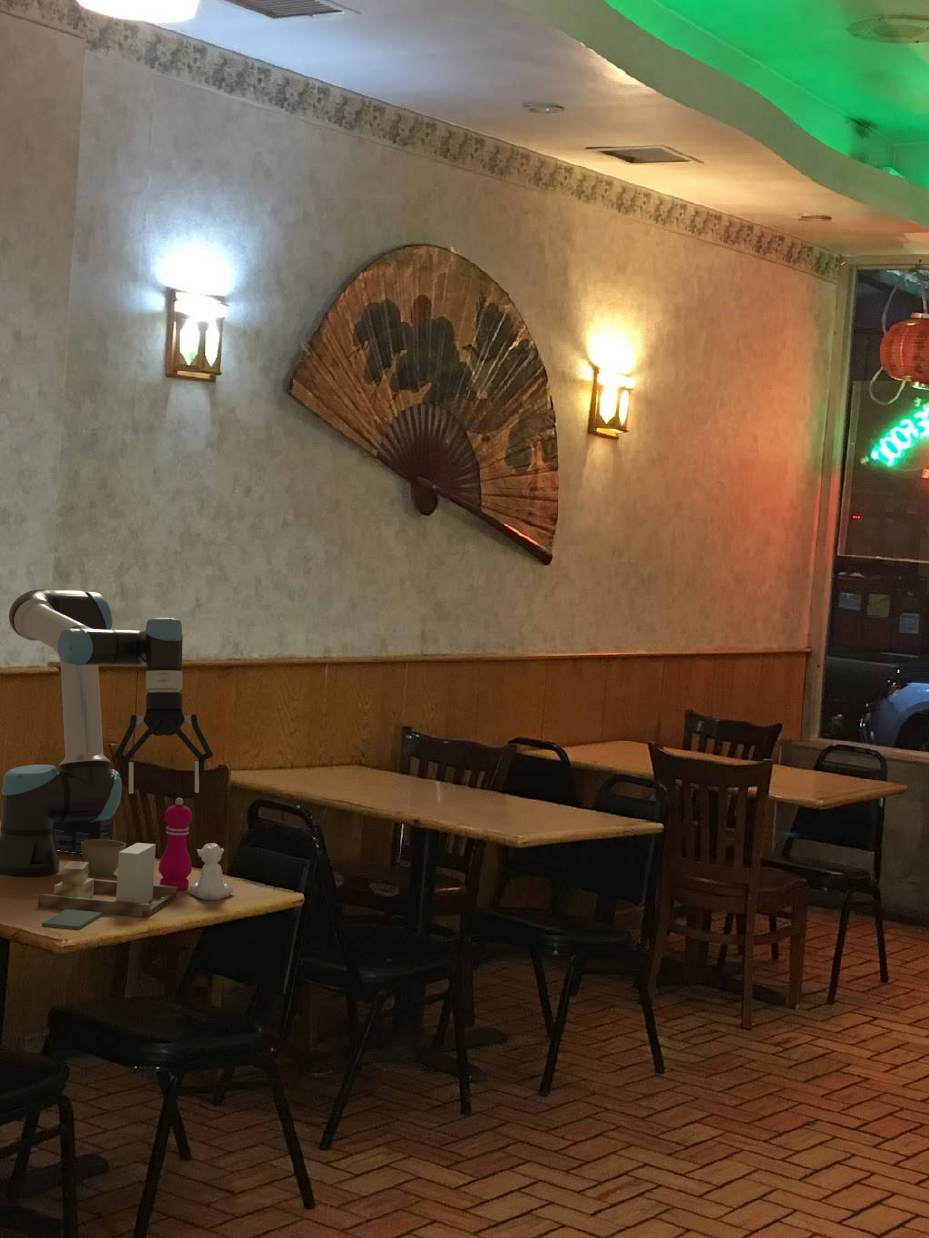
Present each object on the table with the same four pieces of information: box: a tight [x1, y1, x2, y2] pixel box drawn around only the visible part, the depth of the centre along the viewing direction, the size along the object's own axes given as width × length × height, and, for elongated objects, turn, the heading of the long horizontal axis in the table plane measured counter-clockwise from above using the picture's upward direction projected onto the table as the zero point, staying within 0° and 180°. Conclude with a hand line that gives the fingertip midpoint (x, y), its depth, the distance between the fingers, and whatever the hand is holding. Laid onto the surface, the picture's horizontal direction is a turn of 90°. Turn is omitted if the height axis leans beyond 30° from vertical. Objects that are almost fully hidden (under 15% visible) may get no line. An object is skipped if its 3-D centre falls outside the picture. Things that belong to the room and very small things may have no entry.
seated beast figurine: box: [189, 842, 234, 901], centre depth 358 cm, size 10×9×12 cm
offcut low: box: [53, 877, 95, 898], centre depth 347 cm, size 5×10×4 cm, turn 173°
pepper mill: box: [158, 797, 193, 891], centre depth 365 cm, size 7×7×20 cm
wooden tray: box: [37, 878, 178, 918], centre depth 346 cm, size 23×20×2 cm
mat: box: [41, 909, 104, 930], centre depth 328 cm, size 8×14×1 cm, turn 173°
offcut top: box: [62, 860, 89, 886], centre depth 347 cm, size 4×8×4 cm, turn 5°
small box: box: [53, 814, 115, 853], centre depth 399 cm, size 13×7×12 cm, turn 72°
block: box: [115, 842, 157, 904], centre depth 345 cm, size 4×12×12 cm, turn 173°
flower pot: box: [81, 839, 127, 878], centre depth 374 cm, size 10×10×7 cm
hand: (164, 793), depth 347 cm, fingers open, 13 cm apart
